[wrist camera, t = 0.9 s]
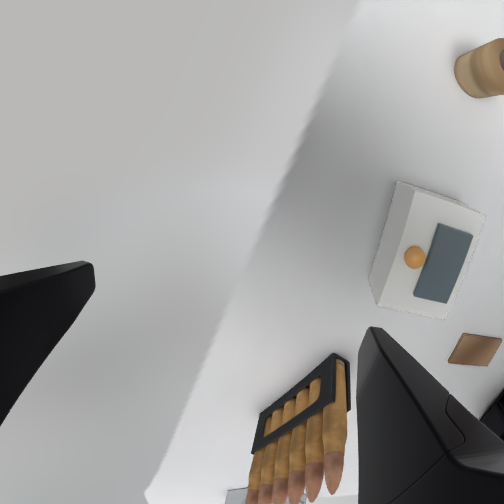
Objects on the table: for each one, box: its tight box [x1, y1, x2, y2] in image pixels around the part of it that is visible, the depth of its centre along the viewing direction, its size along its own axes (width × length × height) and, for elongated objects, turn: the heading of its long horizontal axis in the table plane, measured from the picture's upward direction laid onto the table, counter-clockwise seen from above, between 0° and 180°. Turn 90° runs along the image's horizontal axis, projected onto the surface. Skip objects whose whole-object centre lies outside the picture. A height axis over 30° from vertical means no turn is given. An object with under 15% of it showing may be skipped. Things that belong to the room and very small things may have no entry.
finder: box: [368, 181, 485, 320], centre depth 17 cm, size 5×7×4 cm
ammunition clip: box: [245, 354, 351, 504], centre depth 20 cm, size 11×2×12 cm, turn 147°
